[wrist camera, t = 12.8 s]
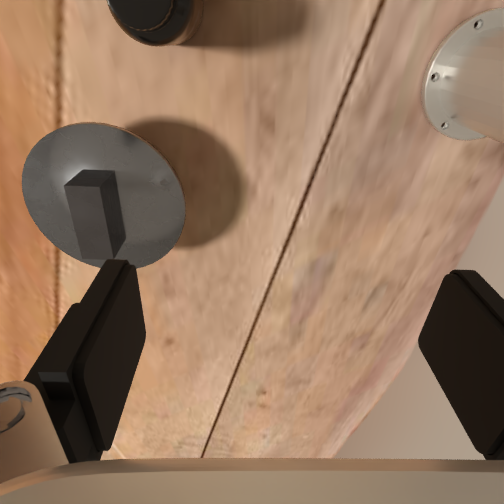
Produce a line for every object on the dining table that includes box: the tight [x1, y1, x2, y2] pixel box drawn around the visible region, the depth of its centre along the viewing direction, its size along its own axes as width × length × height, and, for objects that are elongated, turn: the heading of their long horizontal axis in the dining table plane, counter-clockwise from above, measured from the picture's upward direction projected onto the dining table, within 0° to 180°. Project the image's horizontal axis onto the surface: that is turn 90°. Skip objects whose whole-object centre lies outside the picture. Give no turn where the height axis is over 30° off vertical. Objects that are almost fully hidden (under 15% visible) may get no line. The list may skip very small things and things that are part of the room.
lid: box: [22, 122, 186, 269], centre depth 36 cm, size 17×17×5 cm
